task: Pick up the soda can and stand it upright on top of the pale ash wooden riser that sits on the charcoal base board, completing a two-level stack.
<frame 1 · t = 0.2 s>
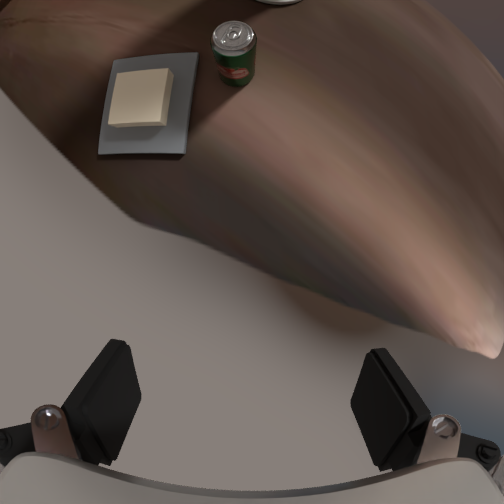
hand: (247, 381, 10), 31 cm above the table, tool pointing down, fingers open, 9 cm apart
soda can: (237, 73, 33), on the table
build base: (147, 102, 34), on the table
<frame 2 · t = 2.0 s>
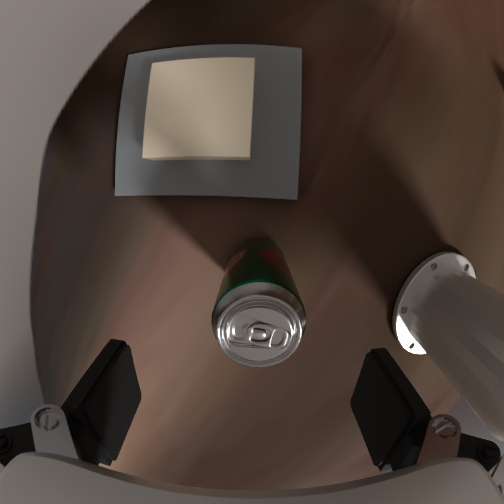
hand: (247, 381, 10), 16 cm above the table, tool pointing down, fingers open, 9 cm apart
soda can: (256, 263, 25), on the table
build base: (206, 116, 21), on the table
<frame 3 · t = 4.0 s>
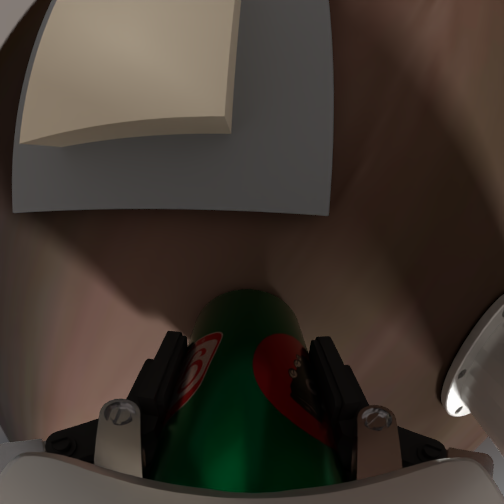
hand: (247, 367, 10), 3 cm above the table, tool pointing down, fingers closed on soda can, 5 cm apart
soda can: (247, 329, 13), on the table, touching gripper
build base: (153, 62, 10), on the table
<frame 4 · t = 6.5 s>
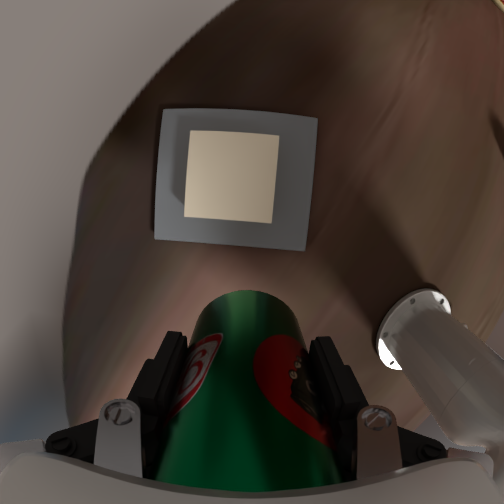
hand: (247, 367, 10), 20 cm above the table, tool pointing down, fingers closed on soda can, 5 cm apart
soda can: (247, 329, 13), point 17 cm above the table, touching gripper
build base: (233, 176, 28), on the table
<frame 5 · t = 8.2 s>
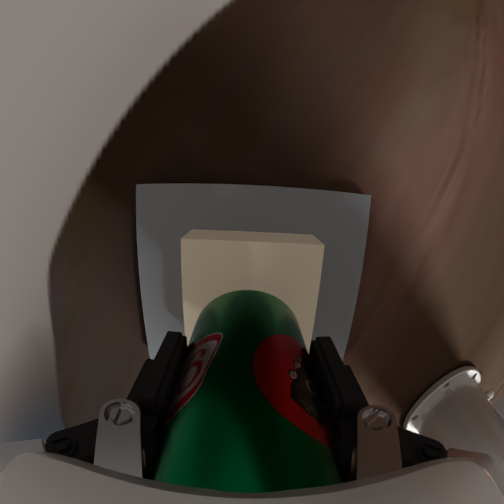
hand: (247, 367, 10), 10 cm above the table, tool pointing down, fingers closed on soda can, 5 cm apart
soda can: (247, 329, 13), point 7 cm above the table, touching gripper
build base: (249, 282, 20), on the table
when the fingers open (8 cm above the table, at t = 9.2 s): soda can drops 1 cm, resting on build base.
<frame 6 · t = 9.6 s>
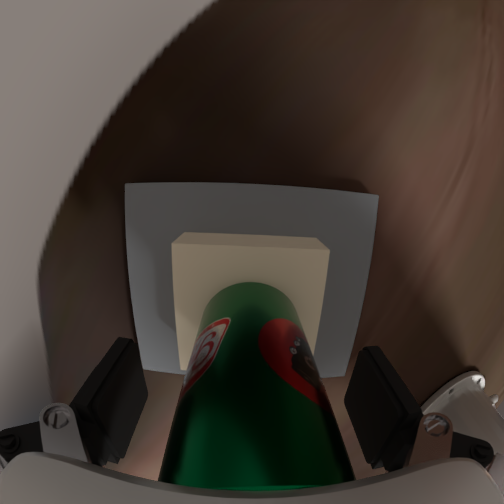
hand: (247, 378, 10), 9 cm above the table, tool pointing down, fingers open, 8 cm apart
soda can: (249, 319, 15), point 4 cm above the table, touching build base
build base: (247, 289, 19), on the table
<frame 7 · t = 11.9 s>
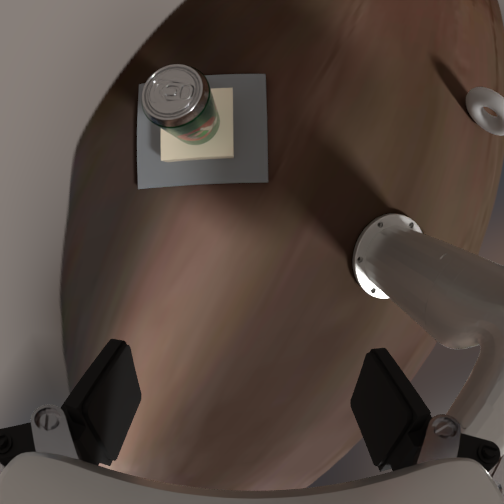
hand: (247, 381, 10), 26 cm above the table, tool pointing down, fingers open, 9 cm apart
donut: (471, 114, 31), on the table
soda can: (197, 123, 27), point 4 cm above the table, touching build base
build base: (201, 129, 31), on the table
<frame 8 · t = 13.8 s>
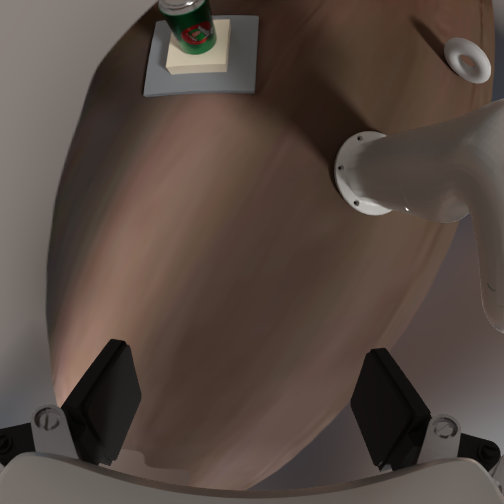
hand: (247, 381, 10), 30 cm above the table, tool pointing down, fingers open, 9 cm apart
donut: (451, 67, 31), on the table
soda can: (198, 42, 28), point 4 cm above the table, touching build base
build base: (202, 53, 32), on the table
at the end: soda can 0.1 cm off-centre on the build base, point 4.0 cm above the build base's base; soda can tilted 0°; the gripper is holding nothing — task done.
